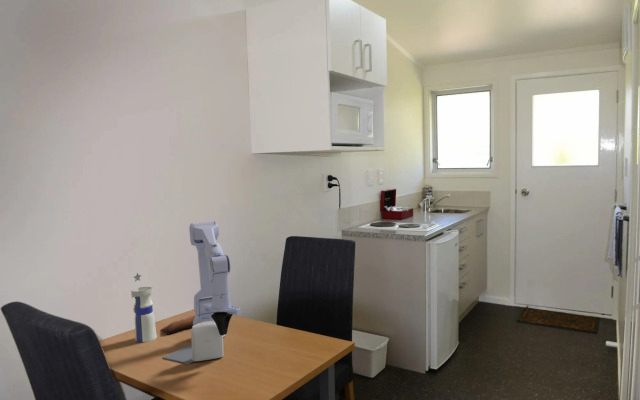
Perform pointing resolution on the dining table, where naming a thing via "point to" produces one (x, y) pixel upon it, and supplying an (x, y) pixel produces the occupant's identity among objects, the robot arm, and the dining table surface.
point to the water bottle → (144, 314)
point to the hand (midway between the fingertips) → (223, 334)
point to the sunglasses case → (178, 325)
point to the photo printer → (206, 341)
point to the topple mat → (181, 355)
